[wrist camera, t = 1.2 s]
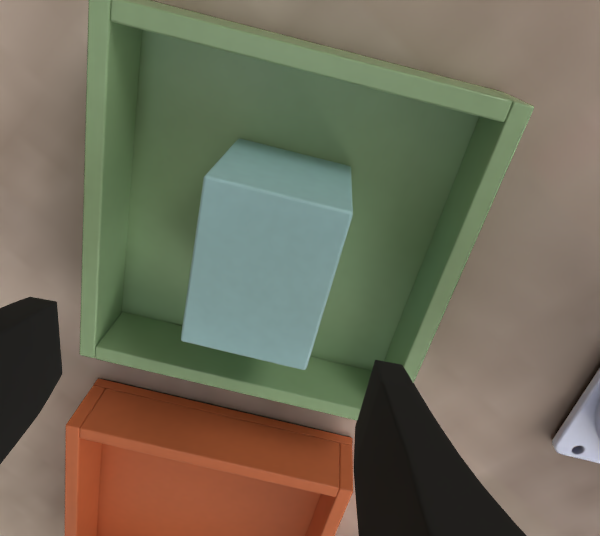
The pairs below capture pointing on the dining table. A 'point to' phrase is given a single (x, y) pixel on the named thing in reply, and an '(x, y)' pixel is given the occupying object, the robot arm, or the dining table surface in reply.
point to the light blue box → (266, 252)
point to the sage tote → (293, 137)
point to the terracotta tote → (198, 470)
